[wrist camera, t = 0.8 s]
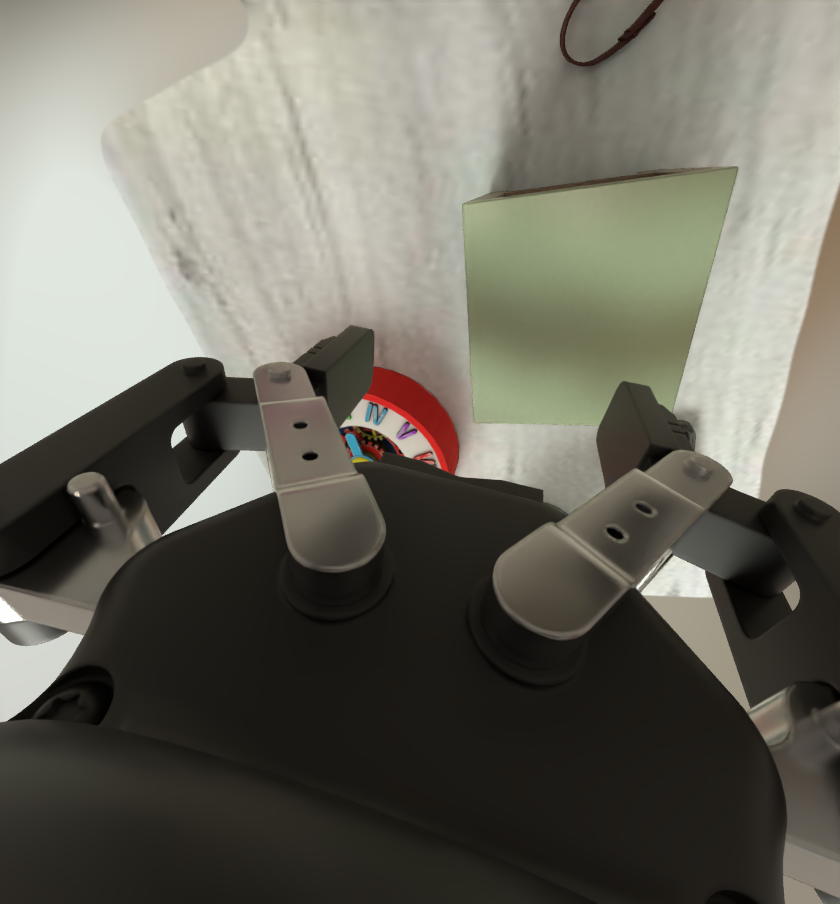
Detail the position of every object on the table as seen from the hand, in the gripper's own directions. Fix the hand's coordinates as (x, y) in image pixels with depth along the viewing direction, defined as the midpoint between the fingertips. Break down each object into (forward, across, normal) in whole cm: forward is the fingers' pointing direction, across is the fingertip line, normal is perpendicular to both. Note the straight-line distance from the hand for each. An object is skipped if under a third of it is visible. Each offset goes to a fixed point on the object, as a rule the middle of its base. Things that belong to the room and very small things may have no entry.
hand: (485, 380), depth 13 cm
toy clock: (+25, +11, +23) cm, 36 cm away
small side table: (+25, -4, +1) cm, 25 cm away
